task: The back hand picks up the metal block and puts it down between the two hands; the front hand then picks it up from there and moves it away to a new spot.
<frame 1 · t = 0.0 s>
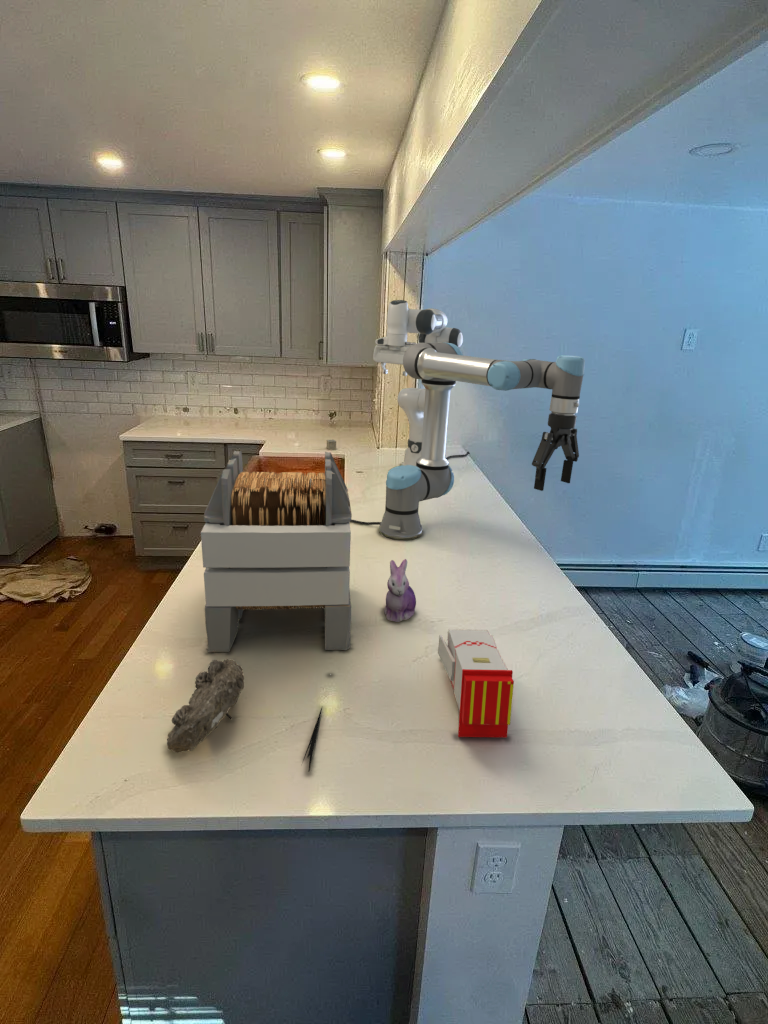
front hand: (552, 485, 166), 28 cm above the counter, tool pointing down, fingers open, 13 cm apart
back hand: (394, 374, 243), 48 cm above the counter, tool pointing down, fingers open, 8 cm apart
feather: (319, 719, 109), on the counter
figurine: (399, 614, 147), on the counter
toy: (469, 691, 119), on the counter
record storage crate: (283, 615, 144), on the counter
fossil: (212, 717, 108), on the counter
metal block: (331, 448, 314), on the counter
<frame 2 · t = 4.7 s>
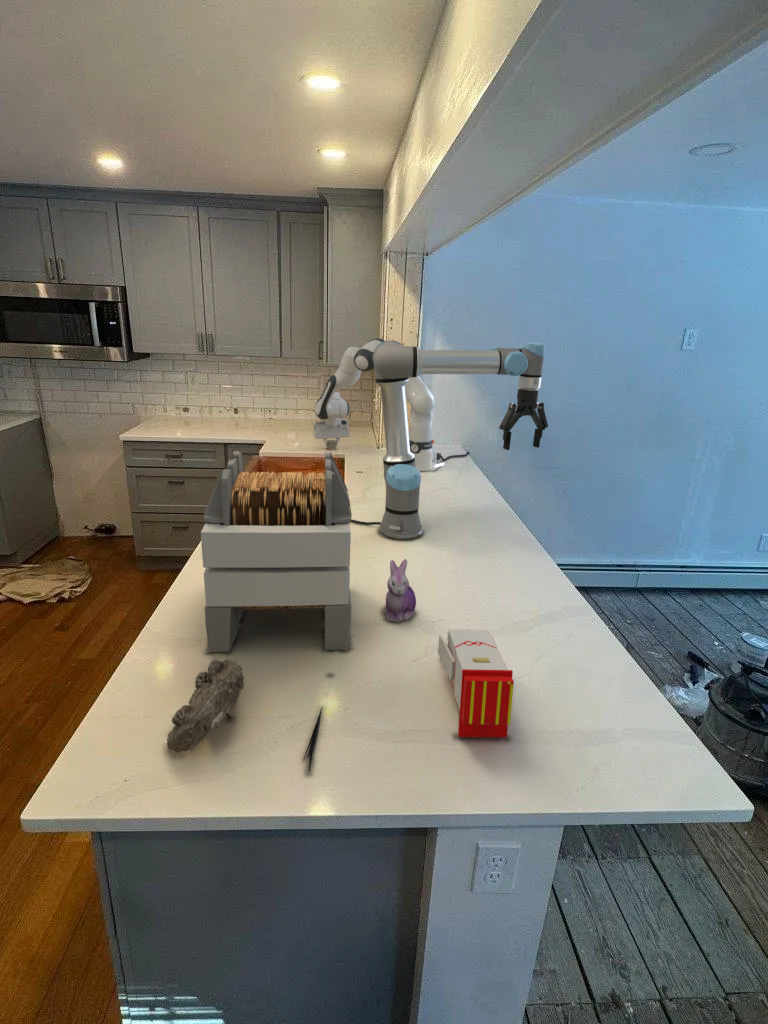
front hand: (521, 448, 206), 29 cm above the counter, tool pointing down, fingers open, 13 cm apart
back hand: (331, 445, 313), 2 cm above the counter, tool pointing down, fingers closed on metal block, 4 cm apart
metal block: (331, 448, 314), on the counter, touching back hand
everything else where it was.
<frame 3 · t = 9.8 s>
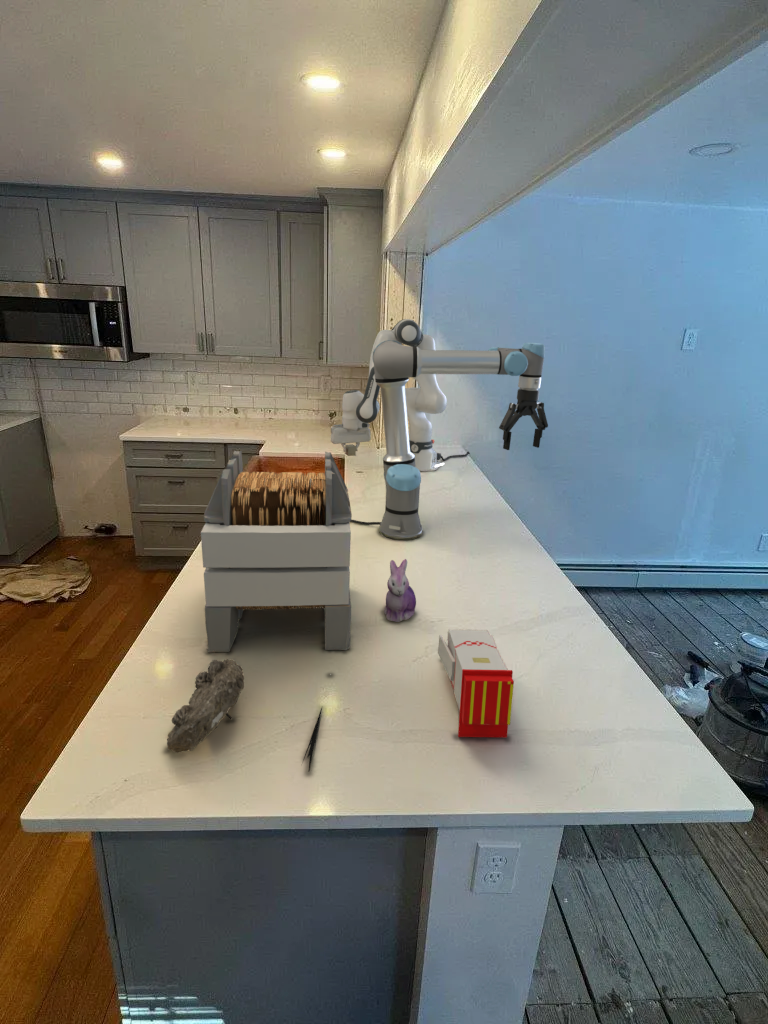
front hand: (521, 448, 206), 29 cm above the counter, tool pointing down, fingers open, 13 cm apart
back hand: (350, 451, 281), 7 cm above the counter, tool pointing down, fingers closed on metal block, 4 cm apart
metal block: (350, 454, 282), point 5 cm above the counter, touching back hand
everything else where it was.
when the back hand's fingers open (2 cm above the counter, at t = 15.0 s): metal block stays where it is, on the counter.
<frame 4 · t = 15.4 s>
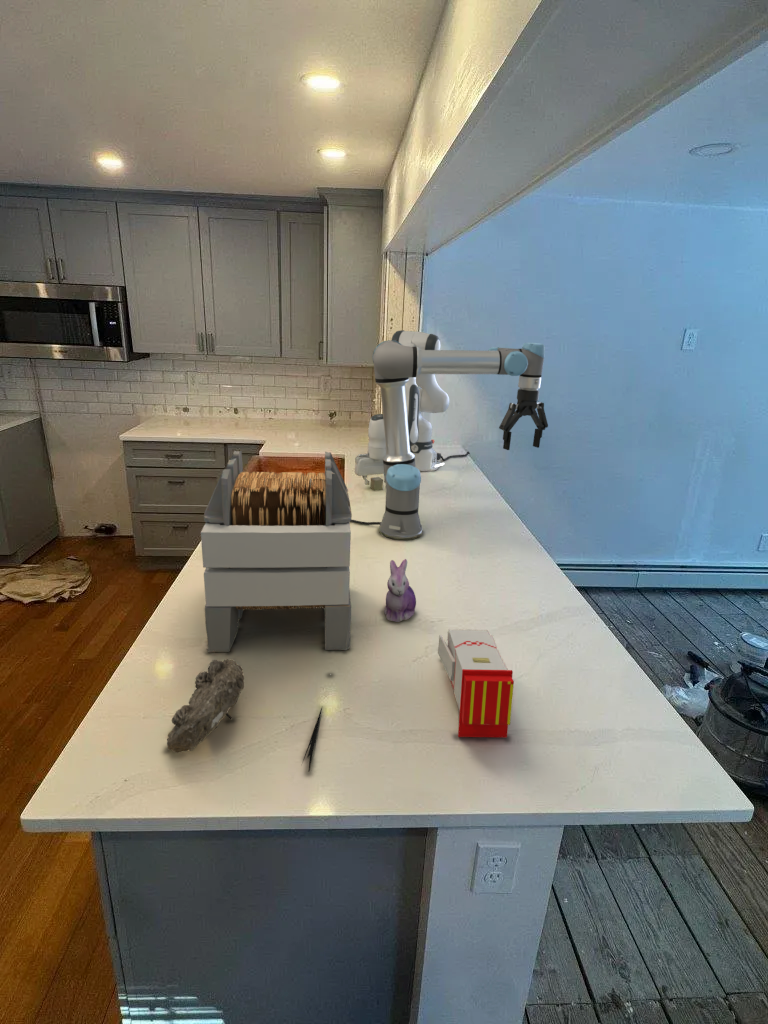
front hand: (521, 448, 206), 29 cm above the counter, tool pointing down, fingers open, 13 cm apart
back hand: (376, 483, 248), 2 cm above the counter, tool pointing down, fingers open, 8 cm apart
metal block: (376, 488, 248), on the counter
everything else where it was.
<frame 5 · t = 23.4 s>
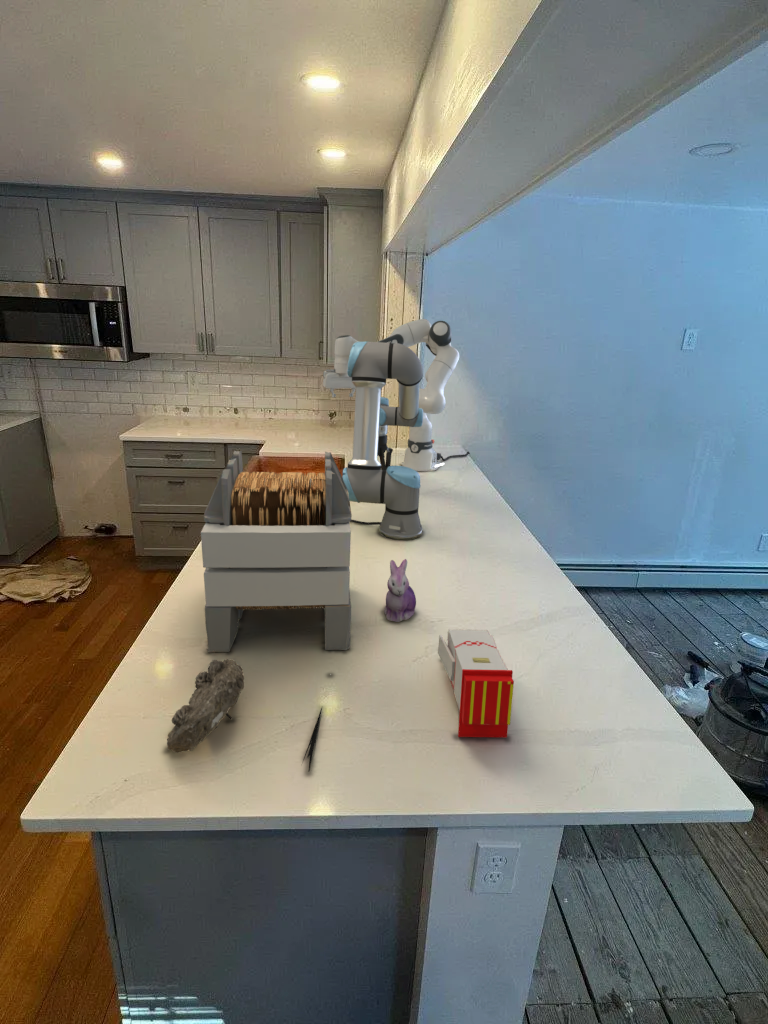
front hand: (376, 487, 248), 1 cm above the counter, tool pointing down, fingers closed on metal block, 4 cm apart
back hand: (342, 397, 287), 31 cm above the counter, tool pointing down, fingers open, 8 cm apart
metal block: (376, 487, 248), point 1 cm above the counter, touching front hand
everything else where it was.
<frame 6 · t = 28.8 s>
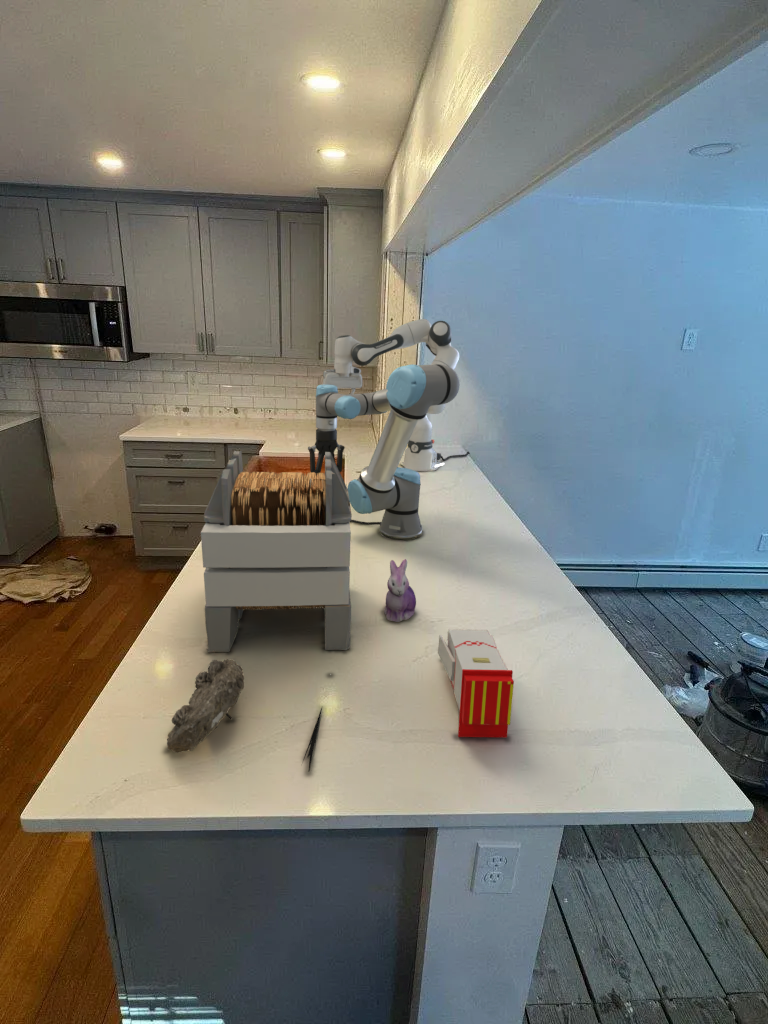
front hand: (326, 490, 211), 10 cm above the counter, tool pointing down, fingers closed on metal block, 4 cm apart
back hand: (342, 397, 287), 31 cm above the counter, tool pointing down, fingers open, 8 cm apart
metal block: (326, 491, 211), point 10 cm above the counter, touching front hand
everything else where it was.
when the front hand's fingers open (1 cm above the counter, at t = 34.4 s): metal block stays where it is, on the counter.
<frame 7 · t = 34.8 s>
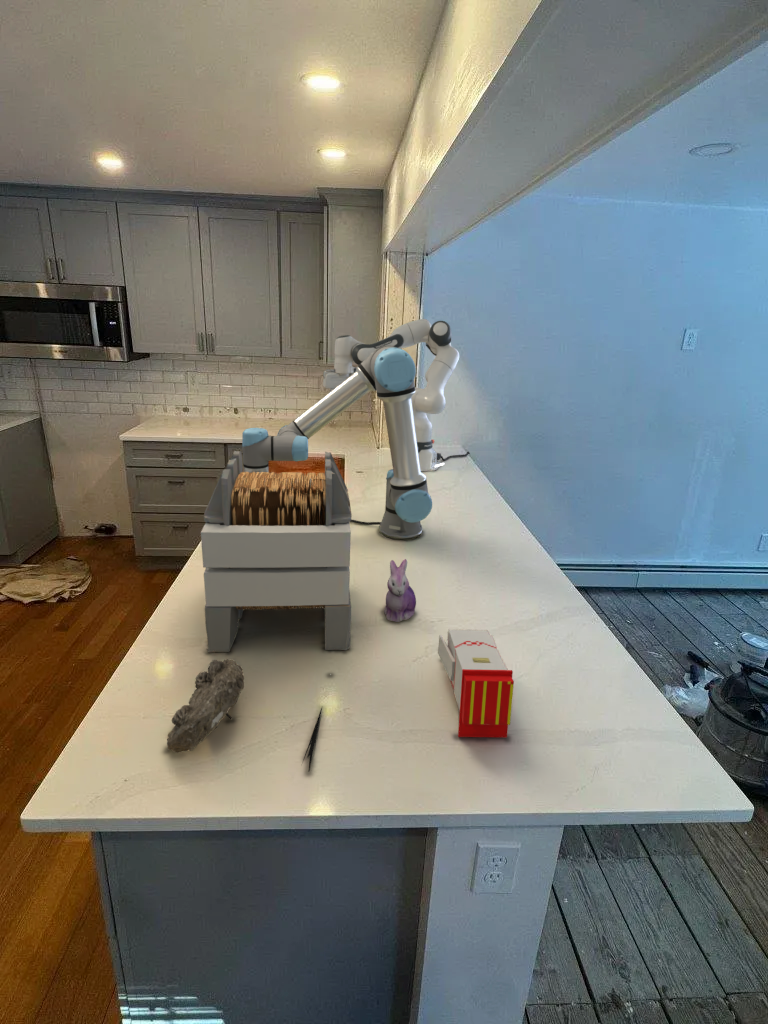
front hand: (258, 546, 181), 2 cm above the counter, tool pointing down, fingers open, 10 cm apart
back hand: (342, 397, 287), 31 cm above the counter, tool pointing down, fingers open, 8 cm apart
metal block: (259, 551, 181), on the counter
everything else where it was.
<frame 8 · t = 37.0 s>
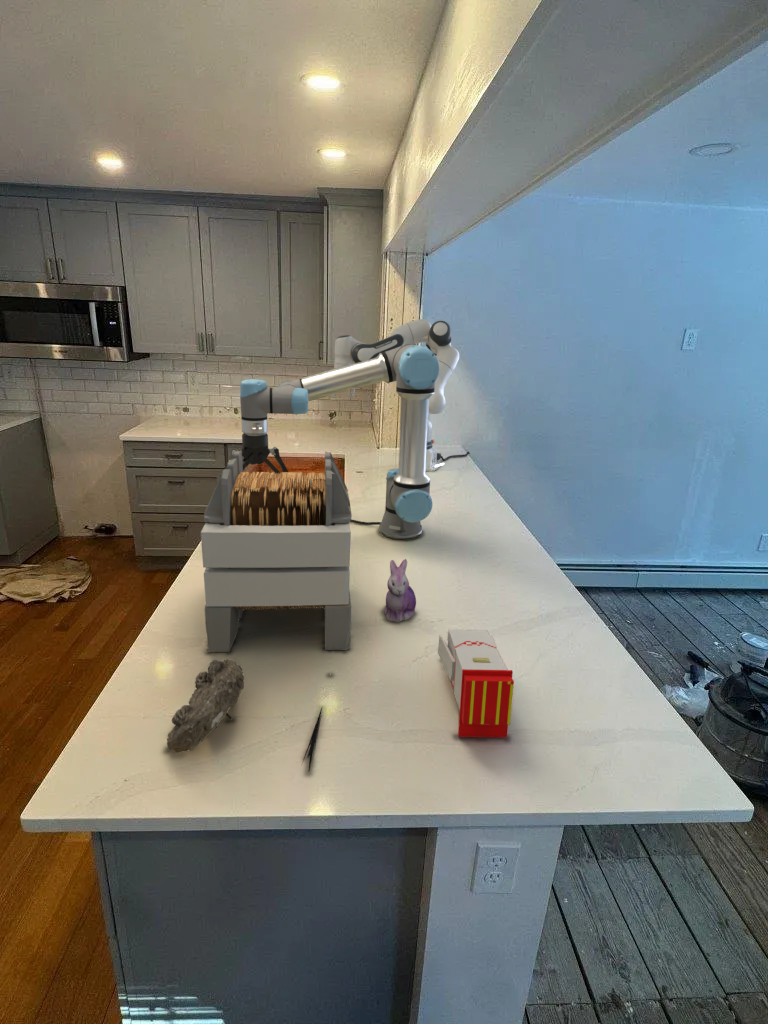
front hand: (257, 501, 175), 17 cm above the counter, tool pointing down, fingers open, 13 cm apart
back hand: (342, 397, 287), 31 cm above the counter, tool pointing down, fingers open, 8 cm apart
nothing on the counter moved.
at the end: metal block inside the target area (0.1 cm from its centre), on the counter; metal block tilted 0°; the two hands never held the metal block at the same time; the front hand is holding nothing; the back hand is holding nothing; metal block at rest at the end (0.0 cm/s) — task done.
